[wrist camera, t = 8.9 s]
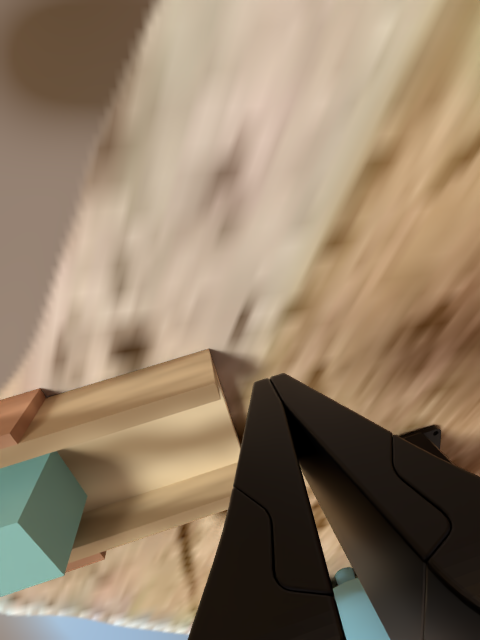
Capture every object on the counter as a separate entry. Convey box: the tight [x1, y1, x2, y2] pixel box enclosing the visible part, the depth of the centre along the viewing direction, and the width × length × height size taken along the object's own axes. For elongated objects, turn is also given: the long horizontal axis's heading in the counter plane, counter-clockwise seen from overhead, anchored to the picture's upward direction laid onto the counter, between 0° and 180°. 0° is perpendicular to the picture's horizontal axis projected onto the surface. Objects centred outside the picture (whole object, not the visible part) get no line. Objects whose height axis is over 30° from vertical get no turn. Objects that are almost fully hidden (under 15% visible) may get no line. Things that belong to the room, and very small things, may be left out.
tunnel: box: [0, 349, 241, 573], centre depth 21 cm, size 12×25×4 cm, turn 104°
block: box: [0, 451, 87, 597], centre depth 19 cm, size 5×5×5 cm
